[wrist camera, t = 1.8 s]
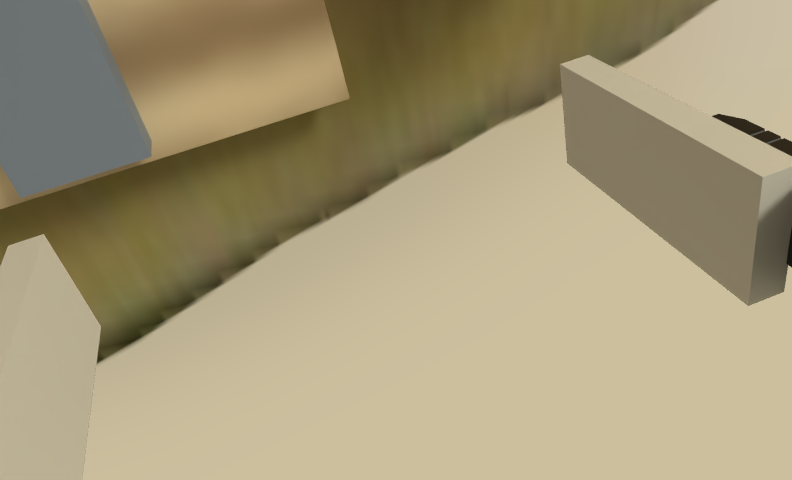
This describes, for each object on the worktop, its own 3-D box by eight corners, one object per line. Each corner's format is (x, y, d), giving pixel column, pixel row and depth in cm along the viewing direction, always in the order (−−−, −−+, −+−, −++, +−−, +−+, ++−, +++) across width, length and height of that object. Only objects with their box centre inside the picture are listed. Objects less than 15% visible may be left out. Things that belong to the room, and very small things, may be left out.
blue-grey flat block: (-72, 12, 27) (-87, 23, 26) (74, -28, 28) (69, -20, 27) (27, 179, 32) (20, 198, 30) (151, 140, 33) (151, 156, 31)
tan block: (-153, -4, 30) (-192, 15, 26) (280, -119, 32) (294, -115, 29) (-28, 188, 35) (-47, 224, 32) (333, 76, 38) (349, 98, 34)
